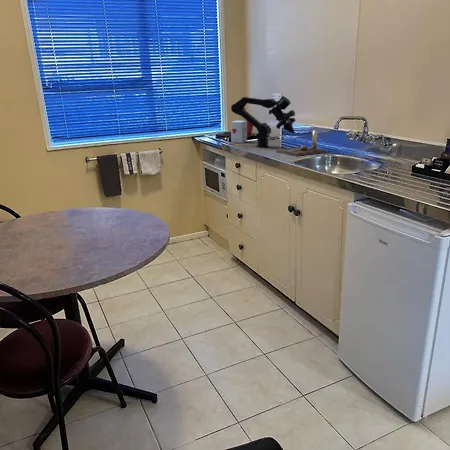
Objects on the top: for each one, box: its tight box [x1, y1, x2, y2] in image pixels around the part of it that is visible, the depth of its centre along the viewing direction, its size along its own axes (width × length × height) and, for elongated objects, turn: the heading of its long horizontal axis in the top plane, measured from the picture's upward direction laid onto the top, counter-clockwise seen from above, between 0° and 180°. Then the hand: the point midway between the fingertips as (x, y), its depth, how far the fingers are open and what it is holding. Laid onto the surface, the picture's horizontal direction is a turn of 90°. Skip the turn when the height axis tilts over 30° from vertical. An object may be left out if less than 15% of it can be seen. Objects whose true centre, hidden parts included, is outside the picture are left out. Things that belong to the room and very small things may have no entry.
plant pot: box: [244, 119, 254, 138], centre depth 336 cm, size 13×13×12 cm
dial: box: [291, 129, 319, 151], centre depth 264 cm, size 19×4×11 cm, turn 116°
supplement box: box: [230, 120, 248, 144], centre depth 309 cm, size 9×9×15 cm
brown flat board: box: [276, 146, 325, 157], centre depth 267 cm, size 24×18×2 cm
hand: (294, 133), depth 274 cm, fingers closed
